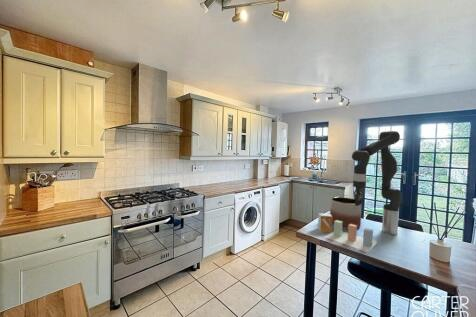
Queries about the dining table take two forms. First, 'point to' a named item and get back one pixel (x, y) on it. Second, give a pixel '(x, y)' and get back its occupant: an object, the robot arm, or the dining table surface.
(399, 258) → the dining table surface
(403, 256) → the dining table surface
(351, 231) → the terracotta block
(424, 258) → the dining table surface
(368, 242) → the slate blue block
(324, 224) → the small box
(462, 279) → the dining table surface
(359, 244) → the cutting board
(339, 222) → the sage block
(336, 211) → the planter
